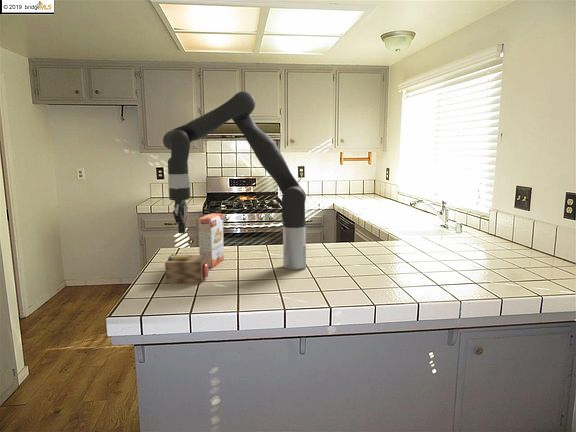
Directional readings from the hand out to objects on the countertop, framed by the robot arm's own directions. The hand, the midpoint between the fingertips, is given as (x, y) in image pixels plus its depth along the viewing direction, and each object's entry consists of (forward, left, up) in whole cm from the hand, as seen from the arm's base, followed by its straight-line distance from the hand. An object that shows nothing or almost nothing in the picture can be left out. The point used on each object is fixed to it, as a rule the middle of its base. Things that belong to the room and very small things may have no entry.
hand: (182, 233), depth 151 cm
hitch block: (-1, 0, -18) cm, 18 cm away
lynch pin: (-1, 0, -17) cm, 17 cm away
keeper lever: (+2, 0, -10) cm, 10 cm away
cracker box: (-7, -21, -18) cm, 29 cm away
